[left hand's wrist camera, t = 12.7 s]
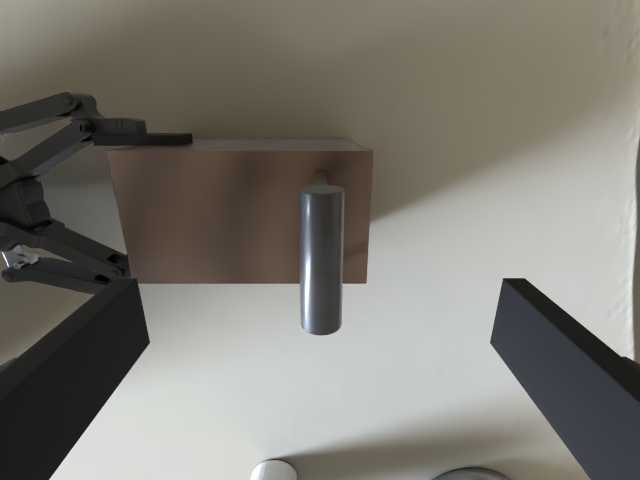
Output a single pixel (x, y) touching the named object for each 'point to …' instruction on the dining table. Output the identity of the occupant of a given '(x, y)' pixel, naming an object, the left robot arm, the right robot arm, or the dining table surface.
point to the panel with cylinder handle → (248, 220)
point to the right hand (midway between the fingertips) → (194, 202)
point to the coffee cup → (274, 471)
